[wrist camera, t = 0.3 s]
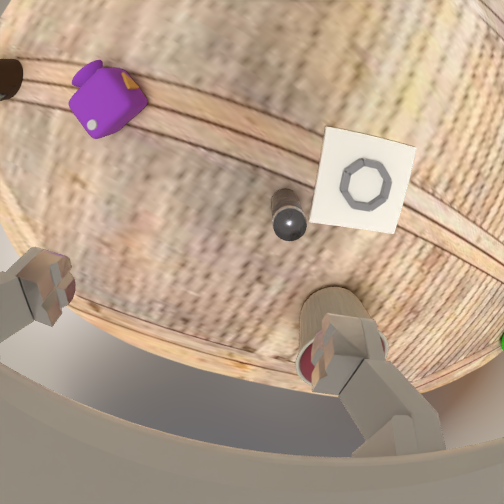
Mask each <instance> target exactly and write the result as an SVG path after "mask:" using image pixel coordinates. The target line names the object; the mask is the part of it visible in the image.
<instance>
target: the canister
mask: <svg viewBox="0 0 504 504" xmlns="http://www.w3.org/2000/svg"><path fill="white" fill-rule="evenodd" d="M326 313H331V314H338V315H344V316H351V317H357V318H367V319H371V317H370V316H369V314H368V312H367V311H366V309H365V308H364V306H363V305H362V303H361V302H360V300H359V299H358V297H357V296H356V295H354V293H352V292H350V291H349V290H347V289H345V288H341V287H328V288H324V289H321V290H319V291H317V292H315V293H313V294H312V295H311V296H310V297H309V298H308V299H307V300H306V302H305V303H304V305H303V307H302V310H301V313H300V325H299V354H298V356H297V358H296V363H295V367H296V371H297V374H298V376H299V377H300V378H301V379H302V380H303V381H304V382H306V383H307V384H309V385H312V372H313V370H314V368H315V366H314V365H313V364H312V362H311V350H312V345H313V341H314V338H315V336H316V333H317V332H319V331H320V330H322V320H323V318H324V316H325V315H326ZM378 331H379V330H378ZM379 335H380V339H381V343H382V347H383V351H384V355H385V359H386V357H387V355H388V350H389V345H388V341H387V339H386V337H385V335H384V334H383V333H382V332H381V331H379Z"/></svg>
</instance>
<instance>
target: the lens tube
mask: <svg viewBox="0 0 504 504" xmlns="http://www.w3.org/2000/svg"><path fill="white" fill-rule="evenodd" d="M271 206H272V215H273V228H274V231H275V233H276V235H277V236H278V237H279V238H281V239H283V240H285V241H294V240H297V239H299V238H300V237H301V236H302V235H303V234H304V233H305V231H306V227H307V224H306V218H305V215H304V213H303V211H302V208H301V205H300V203H299V200H298V197H297V195H296V194H295V193H294V192H293V191H292V190H289V189H281V190H278V191H277V192H275V193H274V195H273V196H272V199H271Z"/></svg>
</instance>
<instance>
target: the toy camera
mask: <svg viewBox="0 0 504 504" xmlns="http://www.w3.org/2000/svg"><path fill="white" fill-rule="evenodd" d="M72 85H74V86H76V87H80V88H79V89H78V90H77V92H76V93H75V94H74V95H73V96H72V98H71V99H70V101H69V106H70V109H71V110H72V112H73V113H74V115H75V116H76V117H77V119H78V120H79V122H80V123H81V124H82V126H83V127H84V128H85V130H86V131H87V132H88V134H89V135H90V136H91V137H92V138H94V139H98V138H102V137H105V136H107V135H110V134H113V133H115V132H117V131H119V130H120V129H121V128H122V127H123V126H124V125H126V124H127V123H128V122H129V121H130V120H131V119H132V118H133V117H135V116H136V115H137V114H138V113H139V112H140V111H141V110H142V109H144V107H145V106H146V105H147V98H146V97H145V95H144V94H143V92H142V91H141V90H140V88H139V86H138V85H137V84H136V83H135V82H134V81H133V79H132V78H131V77H130V75H129V74H128V73H127V72H126V71H125V70H123V69H120V68H112V67H103V63H102V61H101V60H96V61H93V62H91V63H89V64H87V65H86V66H84V67H83V68H82V69H80V70H79V71H78V72H77V74H76V75H75V76H74V78H73V80H72Z"/></svg>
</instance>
